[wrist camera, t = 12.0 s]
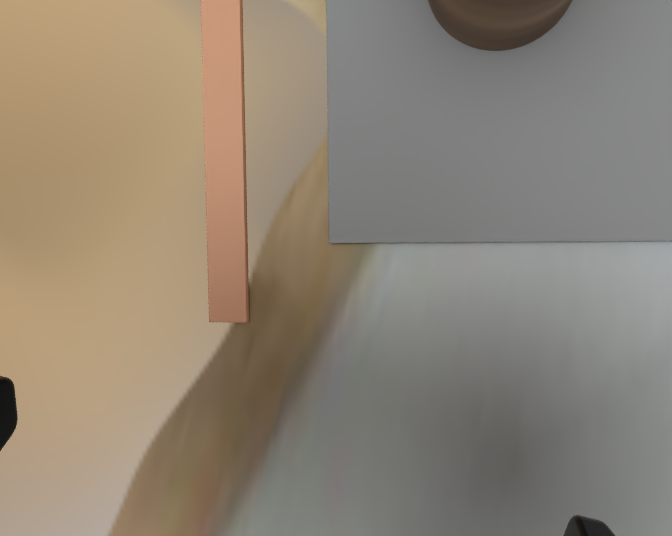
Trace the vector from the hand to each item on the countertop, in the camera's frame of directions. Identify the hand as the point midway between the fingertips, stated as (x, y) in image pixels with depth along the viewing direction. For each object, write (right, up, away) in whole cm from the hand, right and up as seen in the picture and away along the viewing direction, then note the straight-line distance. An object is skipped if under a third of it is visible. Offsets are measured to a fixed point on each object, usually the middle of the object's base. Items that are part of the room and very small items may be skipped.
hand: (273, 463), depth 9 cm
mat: (+7, +11, +11) cm, 17 cm away
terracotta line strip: (-3, +11, +13) cm, 17 cm away
